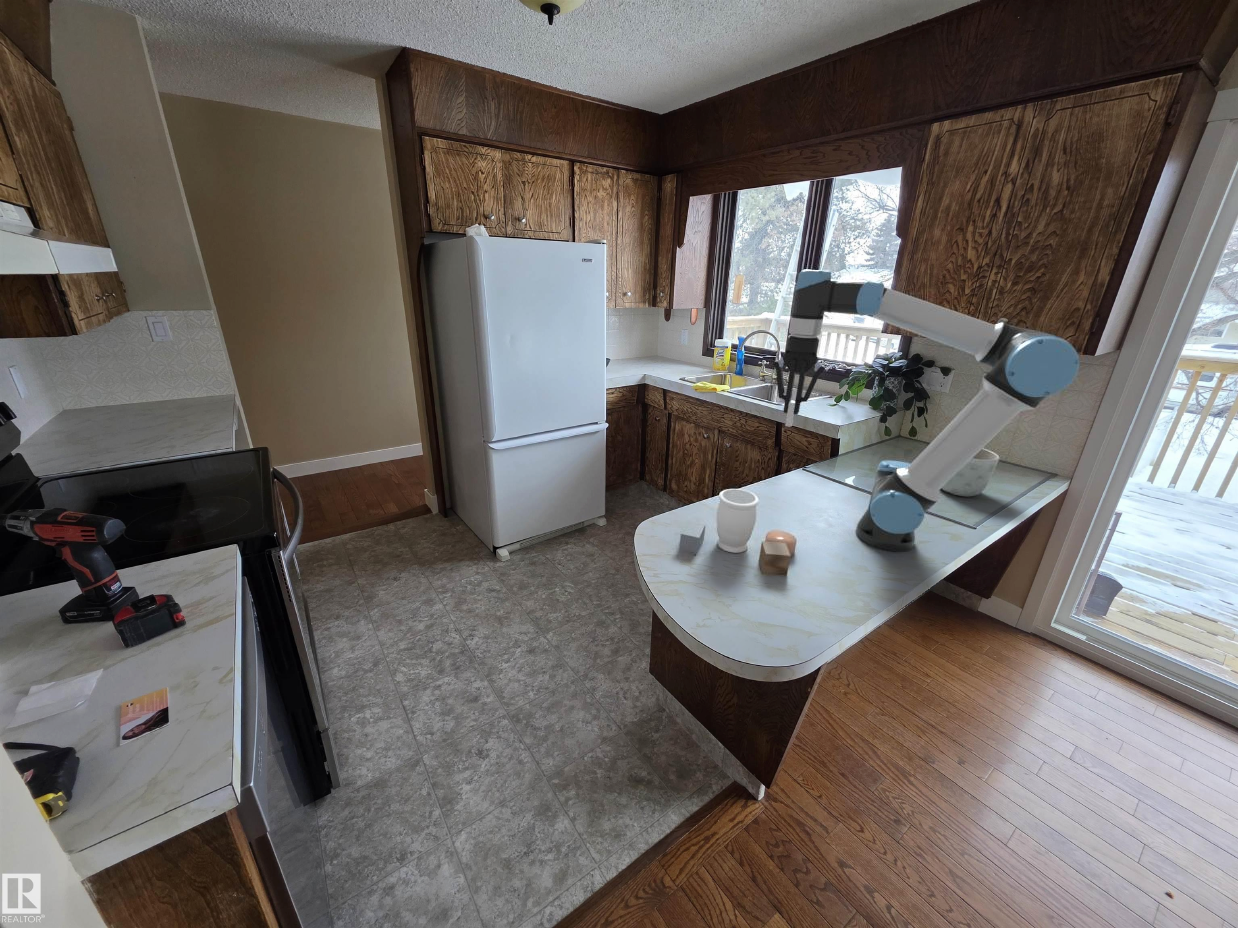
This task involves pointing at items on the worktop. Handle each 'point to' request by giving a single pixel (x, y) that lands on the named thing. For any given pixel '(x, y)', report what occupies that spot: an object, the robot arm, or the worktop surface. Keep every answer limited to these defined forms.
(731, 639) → the worktop surface
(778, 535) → the glossy peach dome
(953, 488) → the planter
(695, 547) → the slate block
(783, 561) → the walnut block
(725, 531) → the jar
